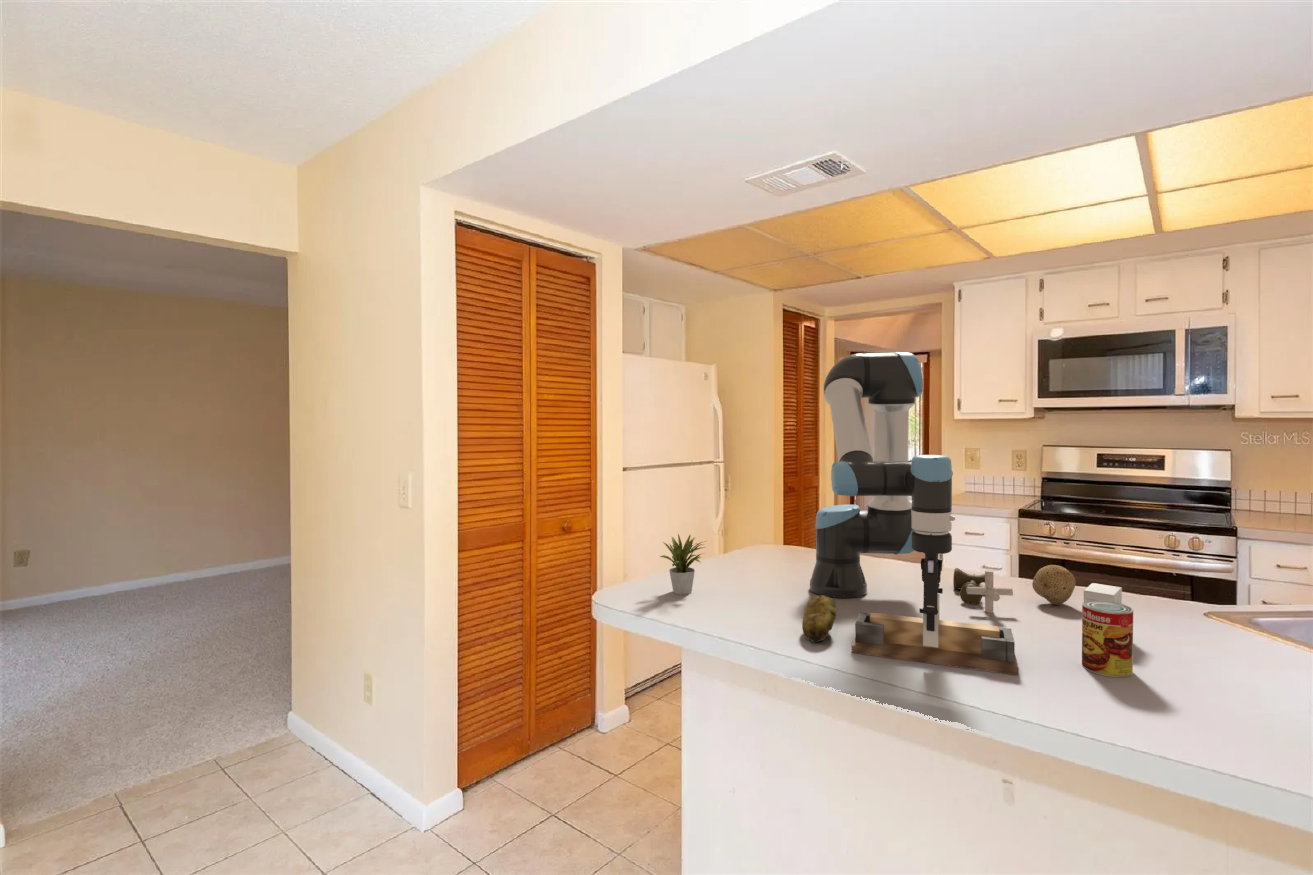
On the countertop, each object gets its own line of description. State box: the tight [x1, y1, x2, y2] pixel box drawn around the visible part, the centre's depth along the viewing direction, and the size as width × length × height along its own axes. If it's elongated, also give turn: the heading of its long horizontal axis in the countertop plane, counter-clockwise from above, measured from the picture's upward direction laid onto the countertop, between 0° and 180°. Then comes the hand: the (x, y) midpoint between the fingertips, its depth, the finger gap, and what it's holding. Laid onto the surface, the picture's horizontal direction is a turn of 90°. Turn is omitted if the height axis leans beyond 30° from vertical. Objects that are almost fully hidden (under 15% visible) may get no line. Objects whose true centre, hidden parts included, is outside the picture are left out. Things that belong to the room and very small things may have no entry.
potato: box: [801, 594, 837, 643], centre depth 142 cm, size 8×13×8 cm, turn 140°
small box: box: [1083, 582, 1123, 604], centre depth 138 cm, size 8×6×10 cm
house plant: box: [659, 533, 707, 596], centre depth 176 cm, size 14×14×16 cm
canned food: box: [1081, 600, 1134, 678], centre depth 121 cm, size 8×8×12 cm
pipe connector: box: [966, 569, 1014, 614], centre depth 155 cm, size 10×10×10 cm
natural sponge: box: [1031, 564, 1076, 606], centre depth 160 cm, size 9×9×10 cm
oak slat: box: [870, 612, 1000, 655], centre depth 130 cm, size 24×3×5 cm, turn 65°
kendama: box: [952, 567, 985, 605], centre depth 171 cm, size 6×10×20 cm
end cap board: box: [851, 612, 1020, 676], centre depth 130 cm, size 30×12×6 cm, turn 65°
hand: (931, 634), depth 130 cm, fingers open, 13 cm apart
